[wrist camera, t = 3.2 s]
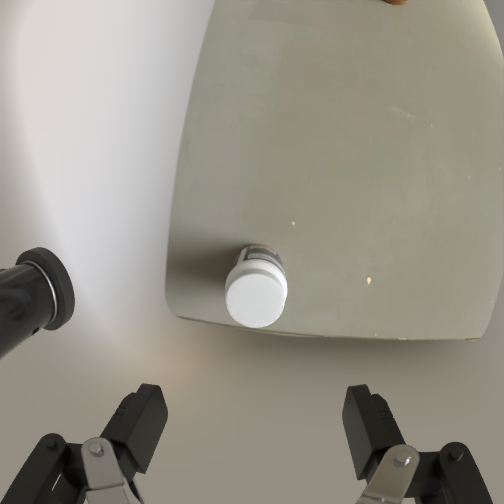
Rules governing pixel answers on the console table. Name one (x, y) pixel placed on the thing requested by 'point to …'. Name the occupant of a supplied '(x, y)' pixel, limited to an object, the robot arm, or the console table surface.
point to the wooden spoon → (396, 2)
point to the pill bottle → (256, 287)
